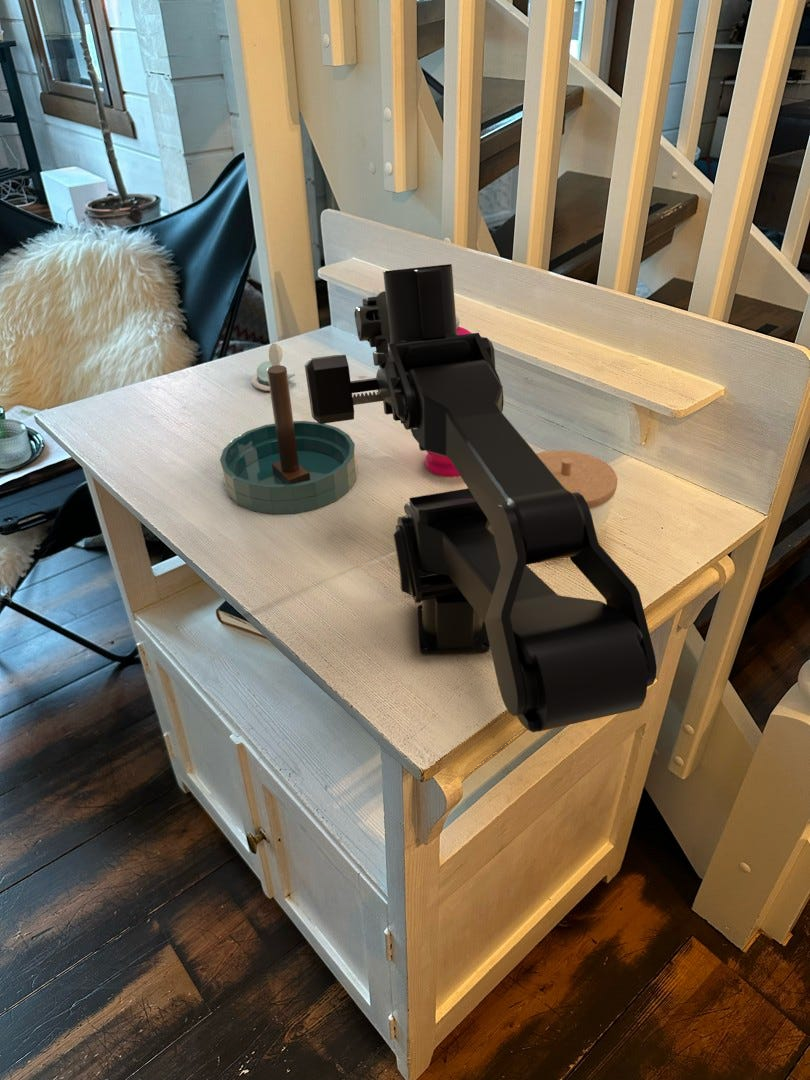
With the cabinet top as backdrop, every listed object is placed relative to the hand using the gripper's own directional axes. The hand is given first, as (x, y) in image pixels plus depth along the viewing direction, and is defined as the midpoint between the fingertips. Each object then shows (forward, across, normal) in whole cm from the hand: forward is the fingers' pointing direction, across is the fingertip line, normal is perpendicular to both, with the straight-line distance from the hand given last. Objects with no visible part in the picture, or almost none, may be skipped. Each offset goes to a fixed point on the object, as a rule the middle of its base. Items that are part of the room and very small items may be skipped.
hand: (385, 372), depth 83 cm
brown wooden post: (+10, +11, +12) cm, 20 cm away
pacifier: (+40, +10, +4) cm, 41 cm away
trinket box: (-8, -16, +19) cm, 26 cm away
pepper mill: (+8, -9, +14) cm, 18 cm away
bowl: (+10, +11, +13) cm, 20 cm away
